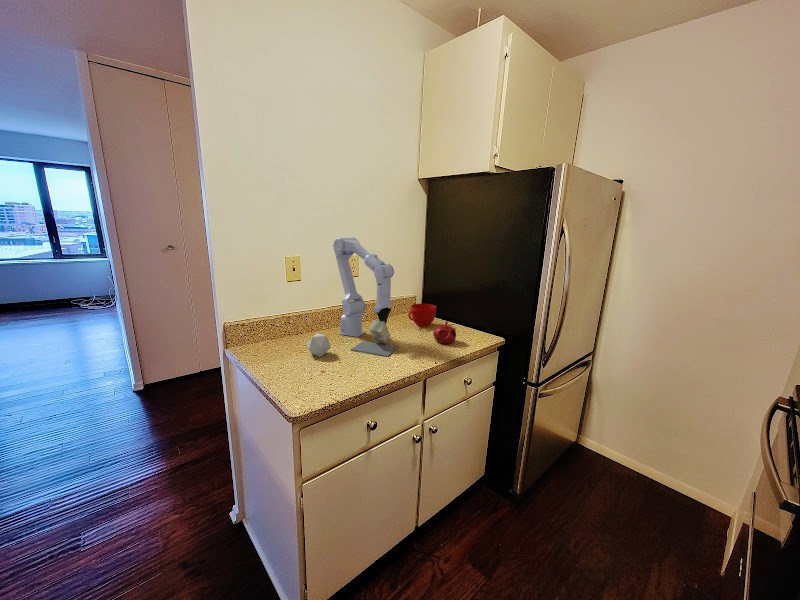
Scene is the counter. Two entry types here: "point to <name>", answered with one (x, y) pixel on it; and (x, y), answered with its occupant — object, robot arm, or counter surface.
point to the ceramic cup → (422, 314)
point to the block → (380, 332)
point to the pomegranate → (444, 334)
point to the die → (318, 344)
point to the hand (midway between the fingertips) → (383, 325)
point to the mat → (374, 348)
